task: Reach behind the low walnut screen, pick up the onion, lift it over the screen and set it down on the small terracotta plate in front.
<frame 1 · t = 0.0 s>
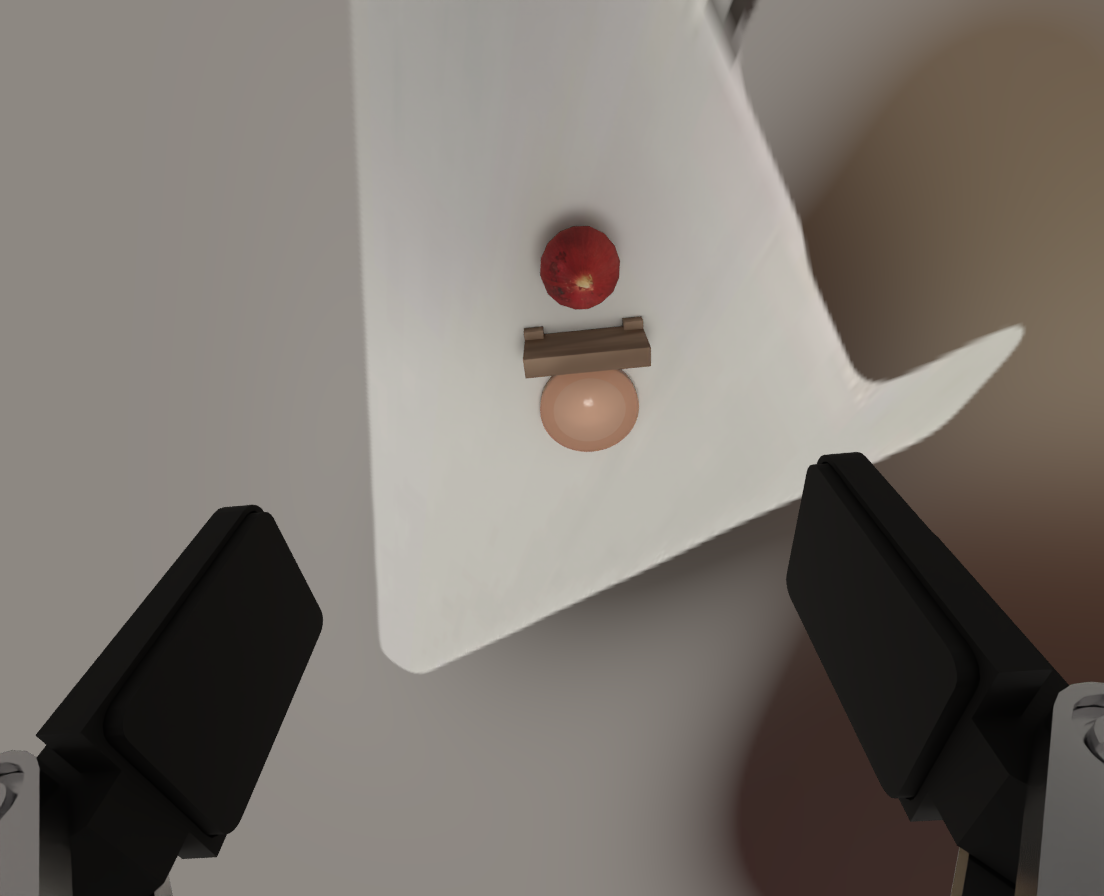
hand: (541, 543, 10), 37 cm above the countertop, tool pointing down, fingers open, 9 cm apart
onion: (577, 255, 43), on the countertop
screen: (583, 339, 46), on the countertop
plate: (588, 404, 50), on the countertop
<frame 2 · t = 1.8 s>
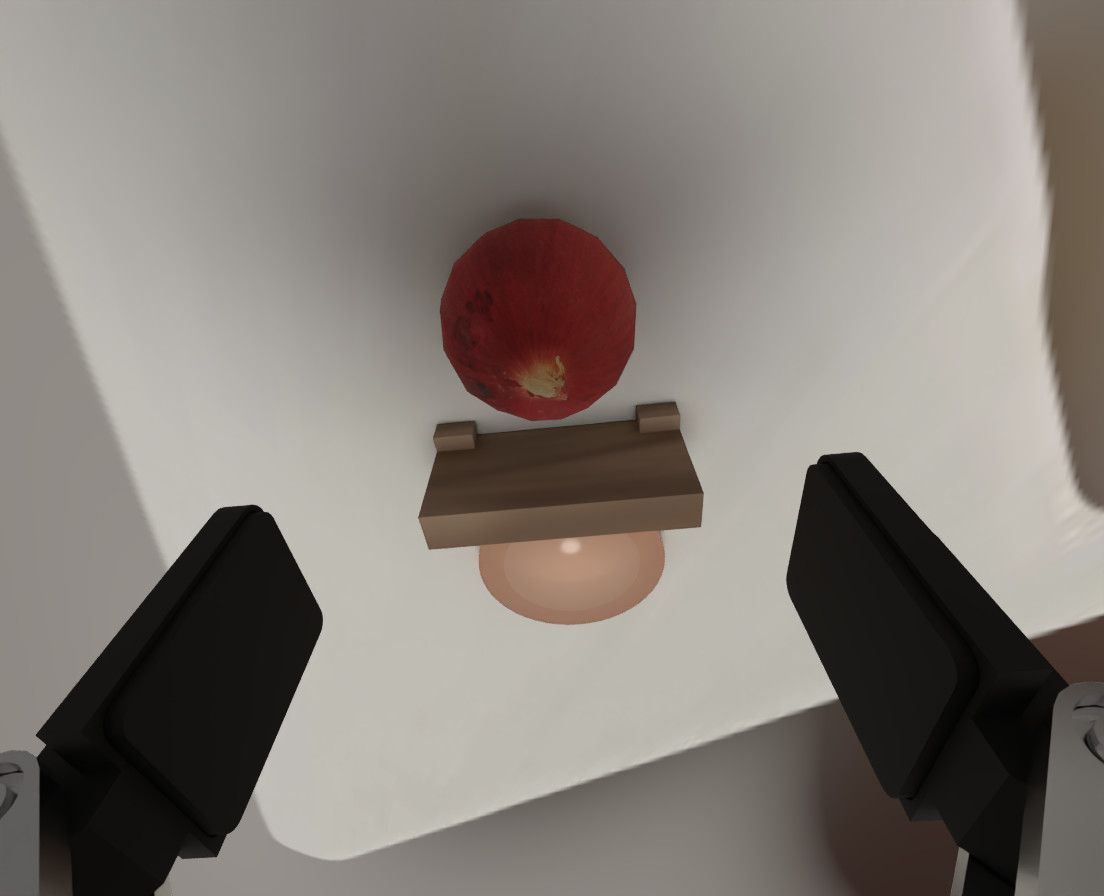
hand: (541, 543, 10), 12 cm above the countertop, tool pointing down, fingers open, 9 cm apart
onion: (539, 281, 19), on the countertop
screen: (558, 443, 23), on the countertop
plate: (570, 548, 27), on the countertop
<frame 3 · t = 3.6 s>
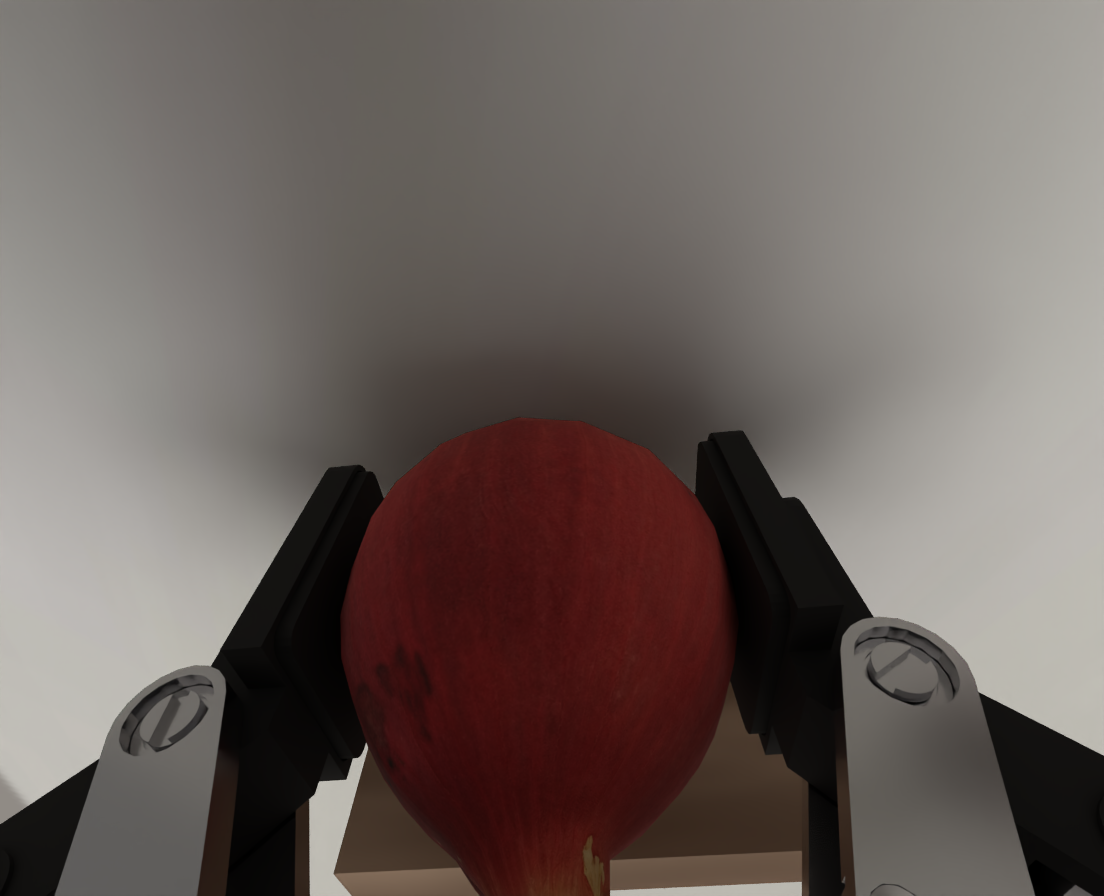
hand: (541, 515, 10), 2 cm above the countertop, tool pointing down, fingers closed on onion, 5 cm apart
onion: (542, 462, 12), on the countertop, touching gripper
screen: (570, 664, 15), on the countertop
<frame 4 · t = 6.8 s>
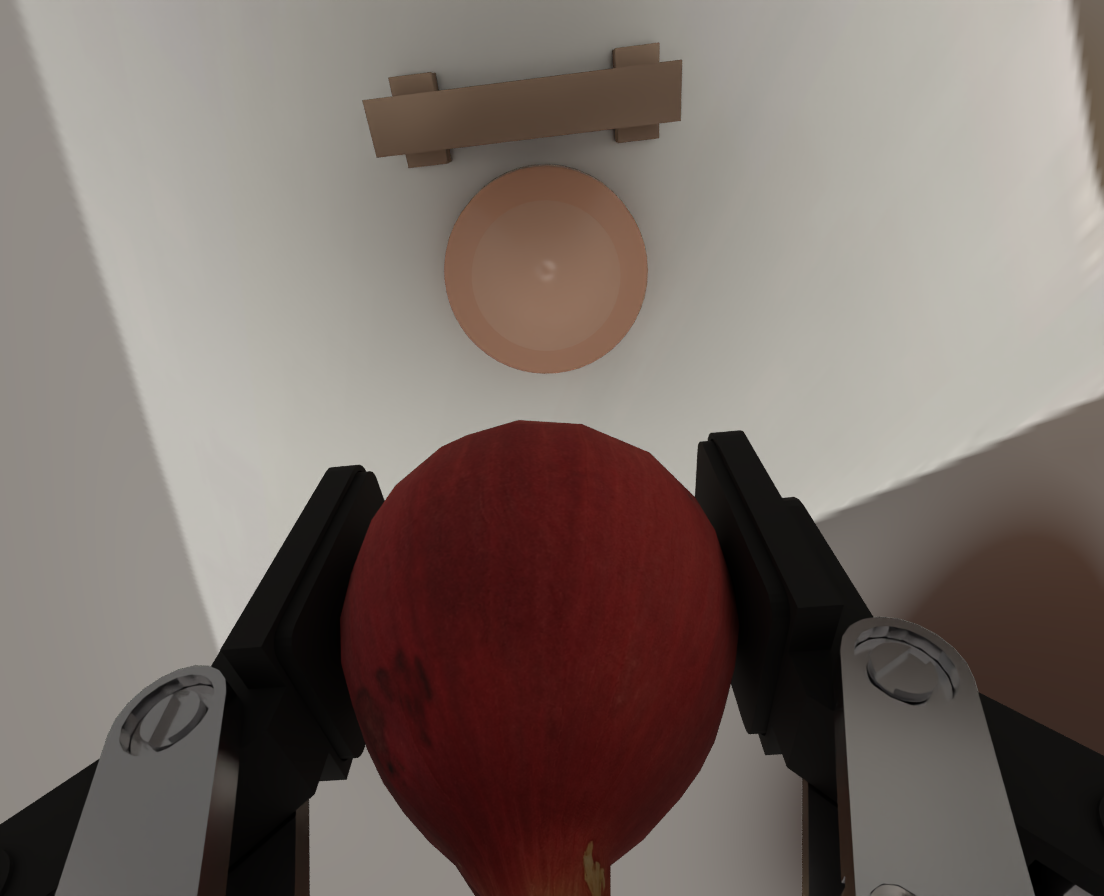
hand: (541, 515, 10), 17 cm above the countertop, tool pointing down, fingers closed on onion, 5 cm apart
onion: (542, 464, 12), point 16 cm above the countertop, touching gripper
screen: (528, 108, 21), on the countertop
plate: (546, 273, 25), on the countertop
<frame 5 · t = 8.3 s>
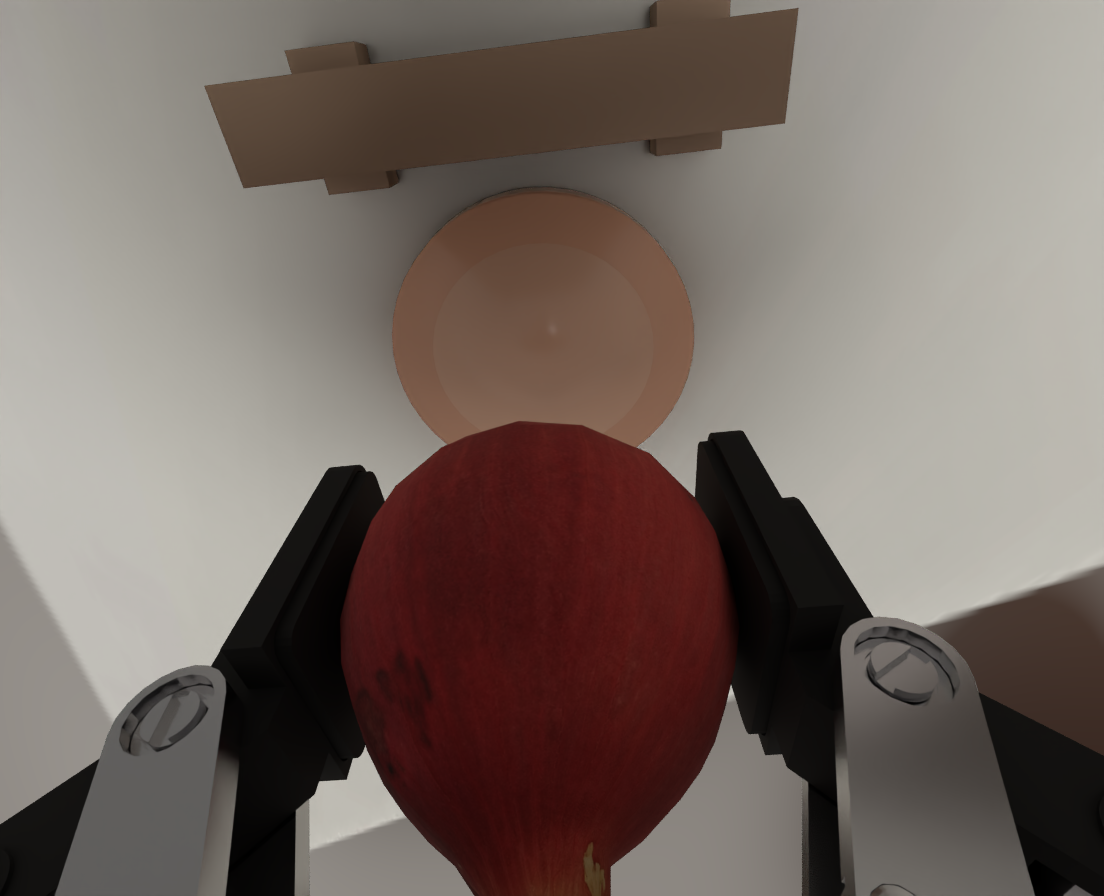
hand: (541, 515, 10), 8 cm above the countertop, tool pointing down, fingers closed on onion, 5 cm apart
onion: (542, 464, 12), point 7 cm above the countertop, touching gripper
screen: (514, 101, 13), on the countertop
plate: (543, 341, 17), on the countertop
when the fingers open (5 cm above the countertop, at t = 9.9 s): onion drops 2 cm, resting on plate.
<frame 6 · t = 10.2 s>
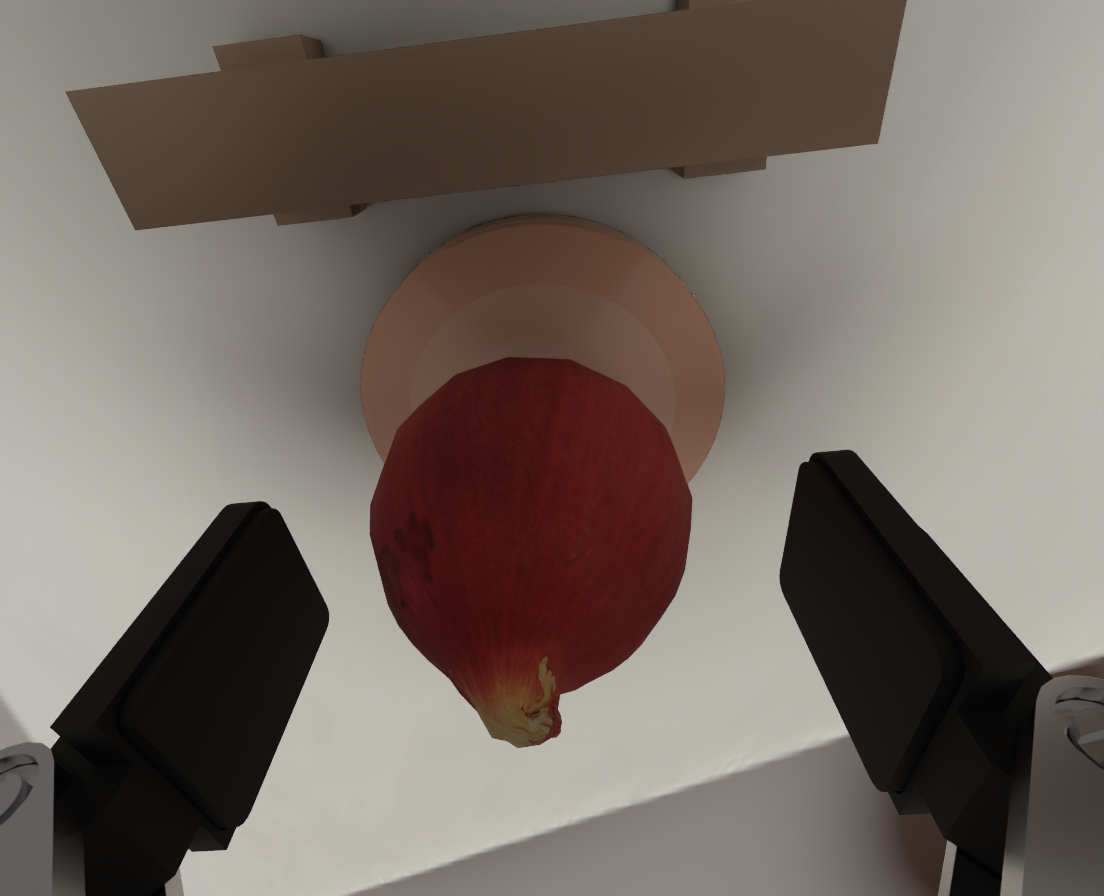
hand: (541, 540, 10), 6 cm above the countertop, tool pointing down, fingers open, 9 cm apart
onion: (549, 407, 13), point 1 cm above the countertop, touching plate
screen: (507, 110, 11), on the countertop
plate: (543, 393, 14), on the countertop
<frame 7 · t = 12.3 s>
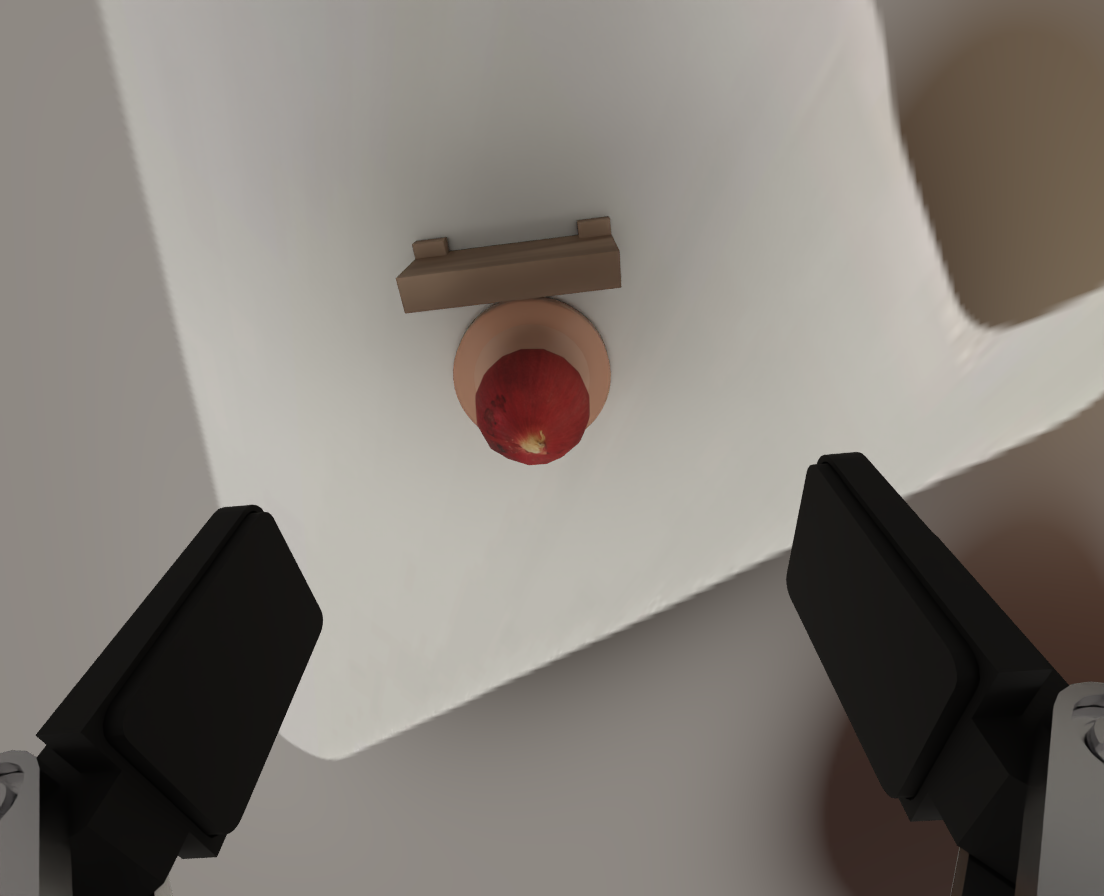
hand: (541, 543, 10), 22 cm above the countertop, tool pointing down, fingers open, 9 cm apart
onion: (534, 376, 31), point 1 cm above the countertop, touching plate
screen: (515, 258, 28), on the countertop
plate: (532, 372, 32), on the countertop
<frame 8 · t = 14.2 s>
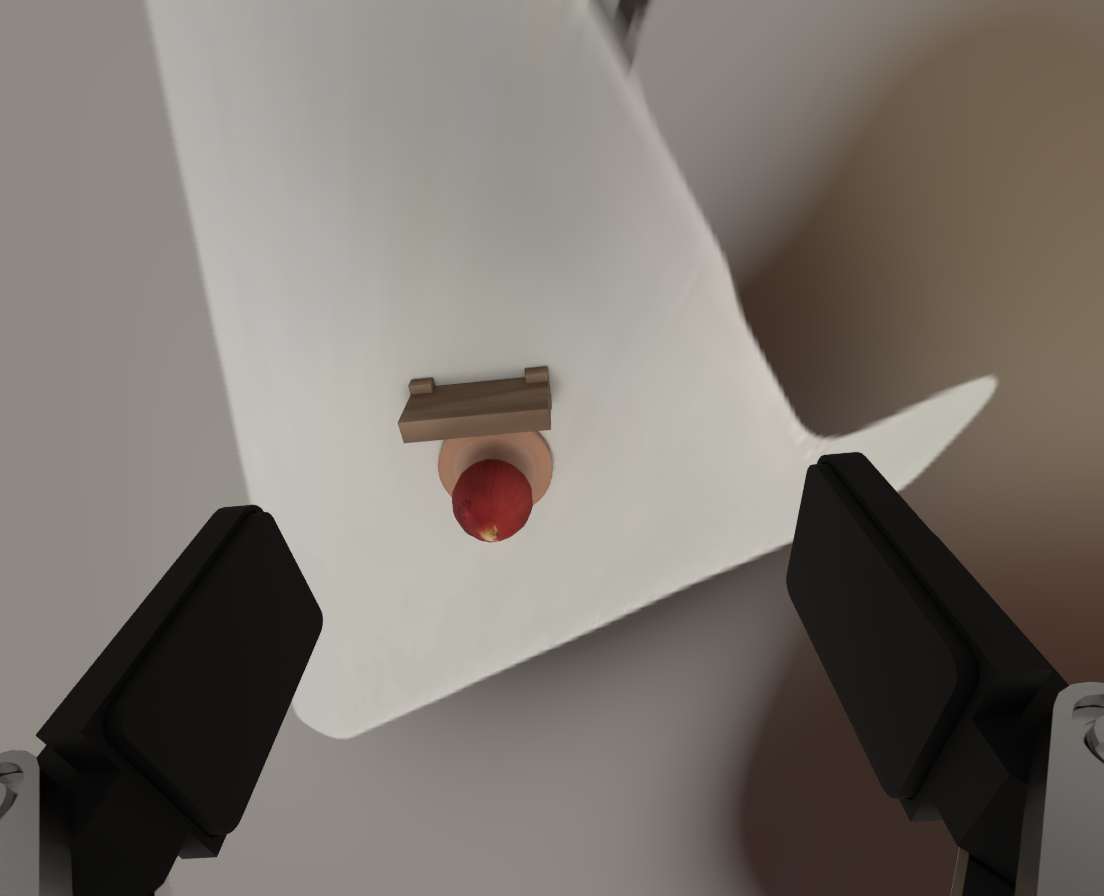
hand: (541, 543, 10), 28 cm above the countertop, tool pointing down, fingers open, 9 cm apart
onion: (497, 468, 42), point 1 cm above the countertop, touching plate
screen: (482, 391, 40), on the countertop
plate: (496, 462, 43), on the countertop
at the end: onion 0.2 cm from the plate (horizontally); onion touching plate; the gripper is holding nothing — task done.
